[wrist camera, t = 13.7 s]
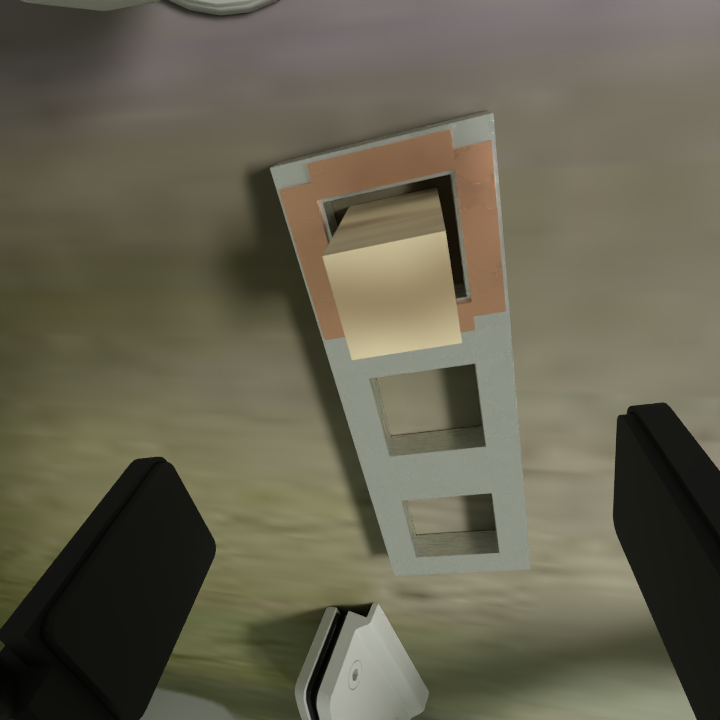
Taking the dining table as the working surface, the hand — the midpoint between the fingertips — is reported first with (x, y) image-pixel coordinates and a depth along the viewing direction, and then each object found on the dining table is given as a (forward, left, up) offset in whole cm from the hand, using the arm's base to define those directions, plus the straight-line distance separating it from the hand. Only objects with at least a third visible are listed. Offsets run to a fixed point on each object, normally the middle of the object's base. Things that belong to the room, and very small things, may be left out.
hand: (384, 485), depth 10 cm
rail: (-10, 0, -17) cm, 20 cm away
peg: (0, 0, -17) cm, 17 cm away
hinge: (-40, +11, -18) cm, 45 cm away
